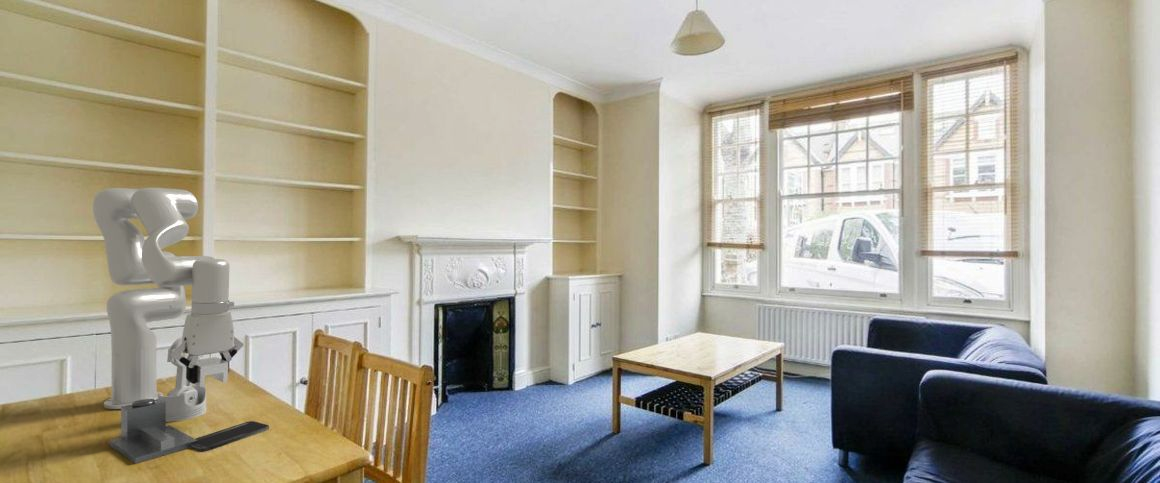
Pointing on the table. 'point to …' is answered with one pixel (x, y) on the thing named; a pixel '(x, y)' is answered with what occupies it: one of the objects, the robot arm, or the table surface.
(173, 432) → the coupler
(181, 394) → the engine component
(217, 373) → the block
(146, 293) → the robot arm
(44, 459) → the table surface
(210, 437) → the phone
